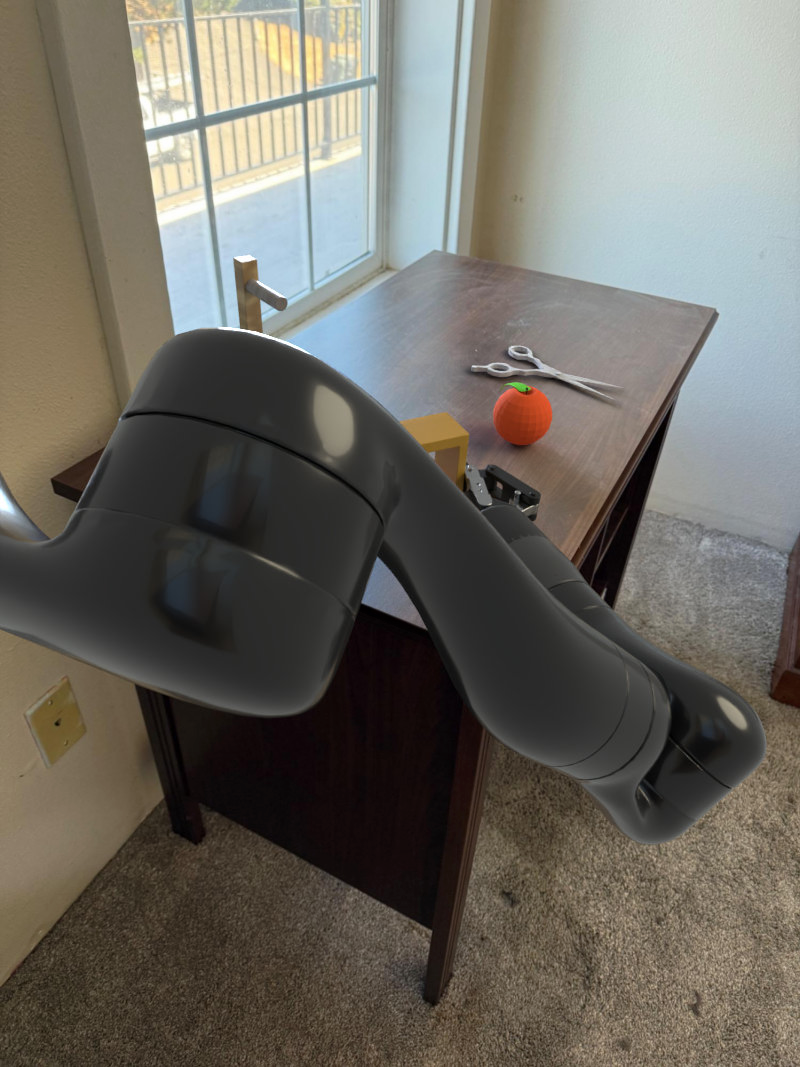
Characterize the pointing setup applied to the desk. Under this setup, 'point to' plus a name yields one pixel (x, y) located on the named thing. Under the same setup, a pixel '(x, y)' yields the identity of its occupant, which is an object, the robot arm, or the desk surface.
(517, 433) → the clementine
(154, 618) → the robot arm
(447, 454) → the yellow goalpost frame
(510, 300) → the desk surface
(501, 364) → the scissors
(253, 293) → the rack
